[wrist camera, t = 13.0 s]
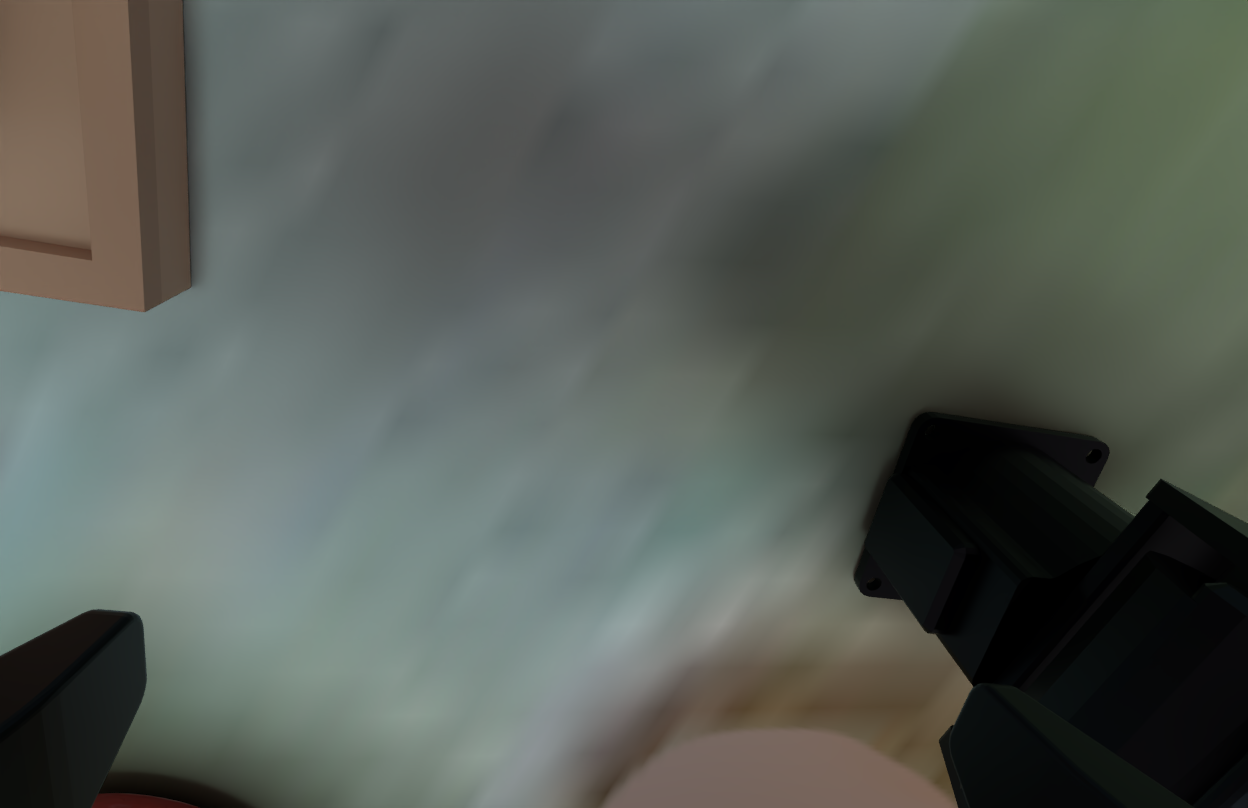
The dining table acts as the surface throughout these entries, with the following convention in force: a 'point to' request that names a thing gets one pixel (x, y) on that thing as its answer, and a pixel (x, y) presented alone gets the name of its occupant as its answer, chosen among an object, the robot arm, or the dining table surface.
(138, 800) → the plant pot
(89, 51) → the stand
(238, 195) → the dining table surface
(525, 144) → the dining table surface
